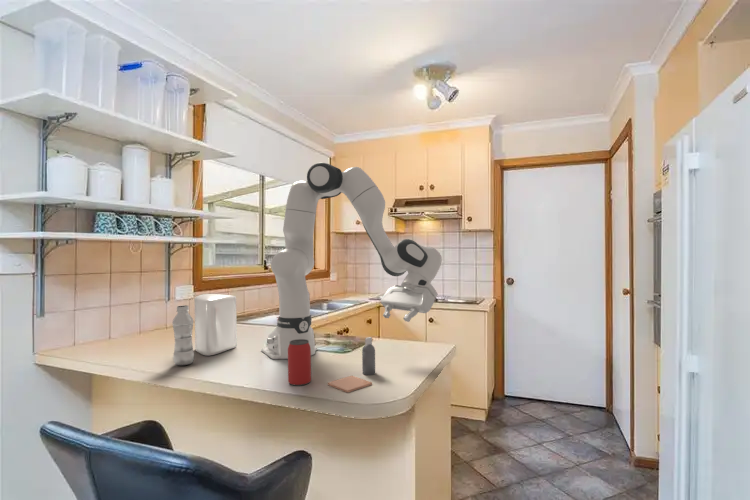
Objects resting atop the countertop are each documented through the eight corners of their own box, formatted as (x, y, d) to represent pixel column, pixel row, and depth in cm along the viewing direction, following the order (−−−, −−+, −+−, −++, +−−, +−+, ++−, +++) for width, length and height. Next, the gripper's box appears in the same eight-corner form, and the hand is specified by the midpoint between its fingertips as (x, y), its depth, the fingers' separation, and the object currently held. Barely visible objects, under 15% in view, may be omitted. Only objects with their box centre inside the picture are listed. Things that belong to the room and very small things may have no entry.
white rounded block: (211, 357, 147) (210, 296, 147) (181, 354, 152) (180, 295, 151) (238, 347, 161) (237, 292, 161) (210, 344, 166) (209, 291, 166)
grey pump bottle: (359, 373, 125) (359, 337, 125) (369, 370, 128) (368, 335, 128) (368, 375, 122) (368, 339, 122) (378, 373, 125) (377, 337, 125)
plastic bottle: (184, 368, 133) (183, 307, 133) (168, 366, 135) (167, 307, 135) (198, 363, 139) (197, 305, 139) (183, 361, 141) (182, 304, 141)
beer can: (289, 379, 120) (289, 339, 120) (312, 378, 121) (311, 338, 121) (286, 386, 114) (286, 344, 114) (310, 385, 114) (309, 343, 114)
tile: (327, 384, 115) (327, 382, 115) (351, 377, 121) (351, 375, 121) (347, 392, 108) (347, 390, 108) (372, 384, 115) (372, 382, 115)
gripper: (388, 279, 146) (369, 309, 140) (433, 282, 131) (413, 316, 125) (397, 290, 149) (378, 320, 143) (441, 294, 134) (423, 328, 128)
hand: (395, 318), depth 133 cm, fingers open, 8 cm apart
